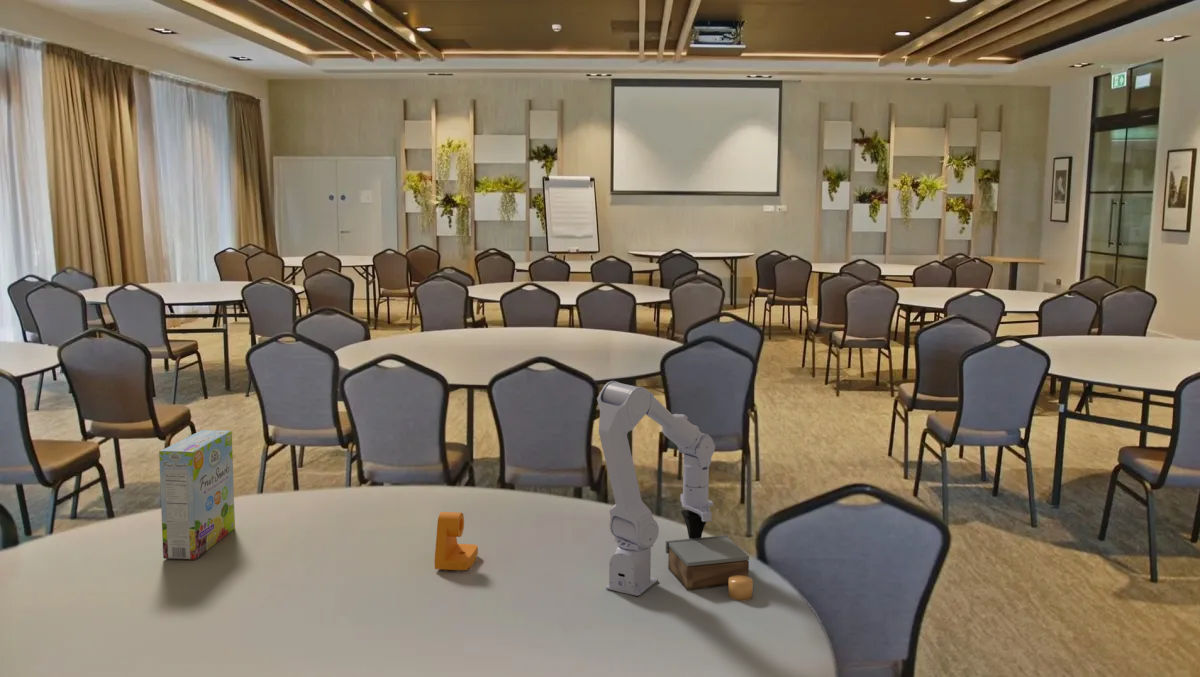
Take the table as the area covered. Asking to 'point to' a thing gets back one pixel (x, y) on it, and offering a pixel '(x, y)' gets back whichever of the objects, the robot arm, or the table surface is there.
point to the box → (705, 572)
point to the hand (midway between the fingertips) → (694, 541)
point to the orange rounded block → (740, 587)
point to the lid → (706, 550)
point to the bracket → (452, 544)
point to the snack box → (196, 493)
